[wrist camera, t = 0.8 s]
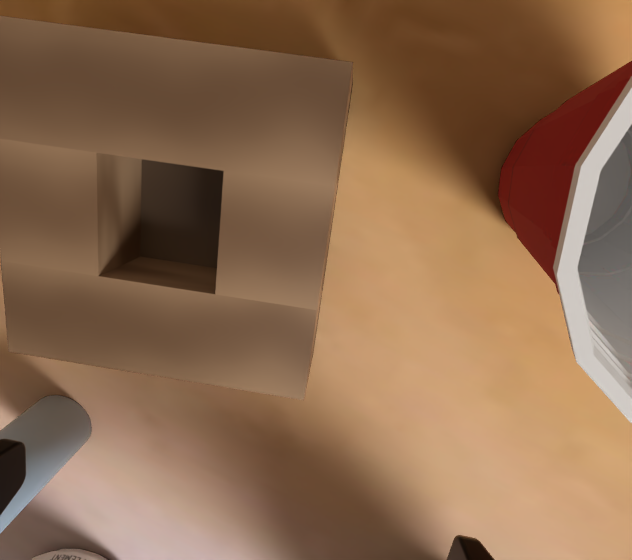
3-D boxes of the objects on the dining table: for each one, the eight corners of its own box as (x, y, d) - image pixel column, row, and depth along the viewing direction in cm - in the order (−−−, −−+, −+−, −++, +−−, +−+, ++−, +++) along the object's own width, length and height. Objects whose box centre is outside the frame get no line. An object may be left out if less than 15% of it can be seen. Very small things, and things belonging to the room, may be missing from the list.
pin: (92, 453, 25) (-23, 582, 17) (34, 442, 25) (-105, 567, 18) (90, 400, 24) (-32, 514, 16) (30, 390, 24) (-119, 498, 16)
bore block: (313, 352, 22) (303, 400, 18) (73, 314, 22) (8, 351, 18) (352, 84, 18) (352, 62, 14) (64, 46, 19) (-21, 13, 14)
